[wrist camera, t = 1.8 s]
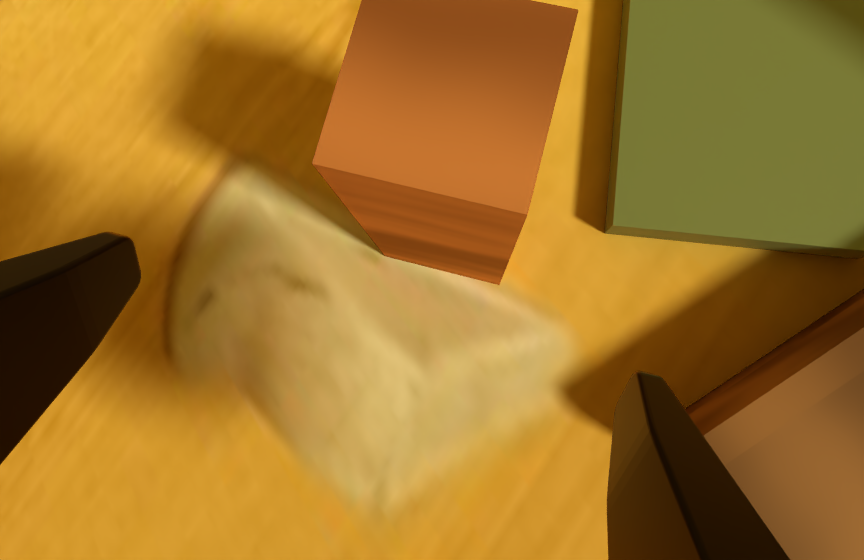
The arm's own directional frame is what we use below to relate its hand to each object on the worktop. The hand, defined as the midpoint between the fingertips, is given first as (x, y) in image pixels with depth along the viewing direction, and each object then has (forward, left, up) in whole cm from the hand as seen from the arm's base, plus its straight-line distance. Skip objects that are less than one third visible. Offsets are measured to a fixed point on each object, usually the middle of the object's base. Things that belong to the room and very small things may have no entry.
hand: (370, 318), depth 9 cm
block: (+2, +5, -11) cm, 12 cm away
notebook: (+13, +9, -11) cm, 19 cm away
